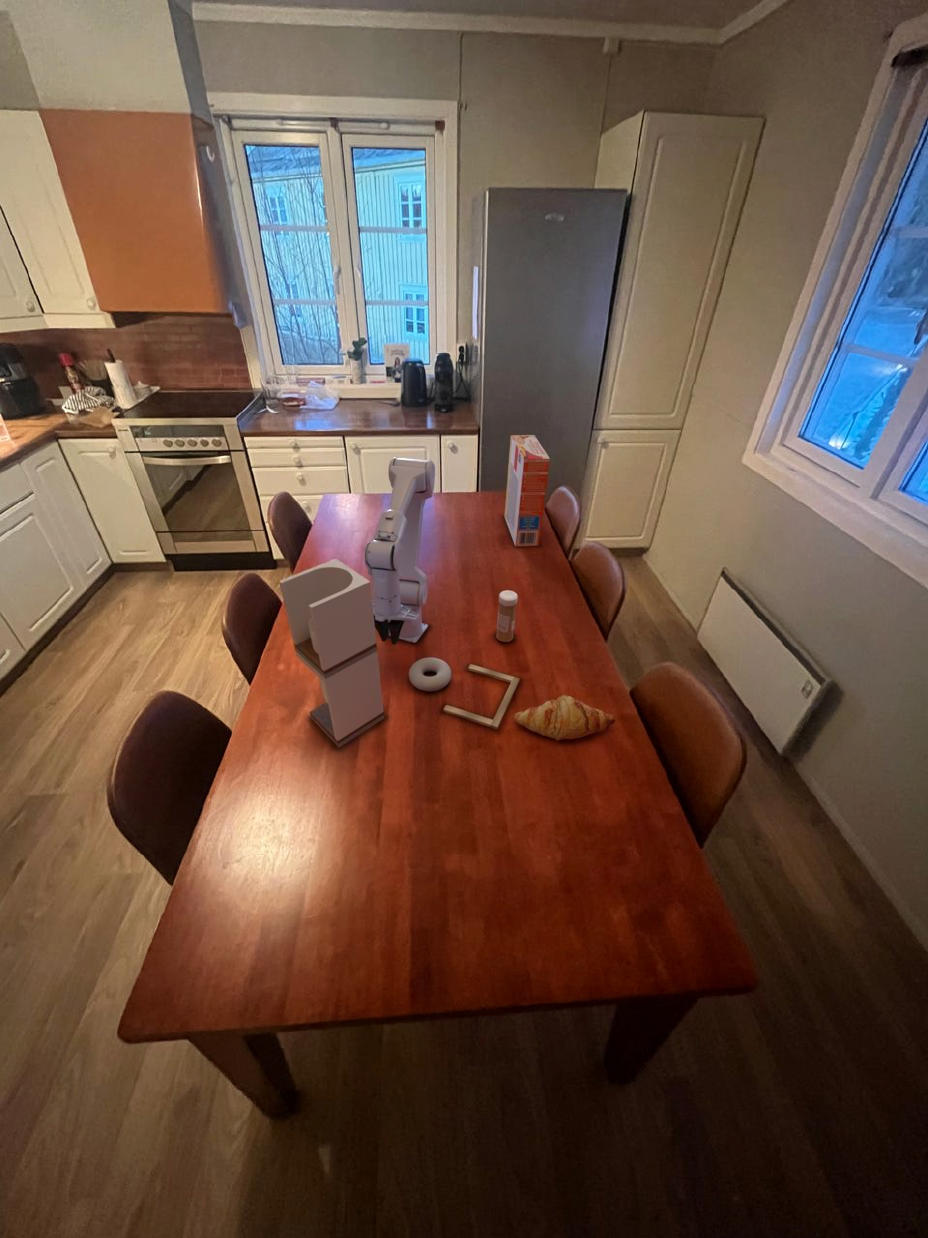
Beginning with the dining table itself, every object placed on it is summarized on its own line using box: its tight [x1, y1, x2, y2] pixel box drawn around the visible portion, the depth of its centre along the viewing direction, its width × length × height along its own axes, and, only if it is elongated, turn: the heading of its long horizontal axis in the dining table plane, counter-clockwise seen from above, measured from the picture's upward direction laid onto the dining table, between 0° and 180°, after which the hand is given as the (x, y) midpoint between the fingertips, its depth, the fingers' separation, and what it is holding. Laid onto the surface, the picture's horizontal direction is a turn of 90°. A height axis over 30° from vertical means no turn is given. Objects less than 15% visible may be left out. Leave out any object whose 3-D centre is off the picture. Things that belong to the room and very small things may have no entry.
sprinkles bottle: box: [495, 589, 519, 643], centre depth 127 cm, size 5×5×13 cm
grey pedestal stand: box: [278, 558, 385, 748], centre depth 97 cm, size 11×11×35 cm
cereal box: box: [503, 434, 551, 547], centre depth 170 cm, size 23×8×30 cm, turn 6°
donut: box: [408, 657, 452, 692], centre depth 117 cm, size 10×4×10 cm
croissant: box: [514, 694, 616, 742], centre depth 106 cm, size 21×10×8 cm, turn 90°
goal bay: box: [442, 663, 521, 730], centre depth 114 cm, size 12×16×1 cm
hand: (390, 640), depth 116 cm, fingers closed
